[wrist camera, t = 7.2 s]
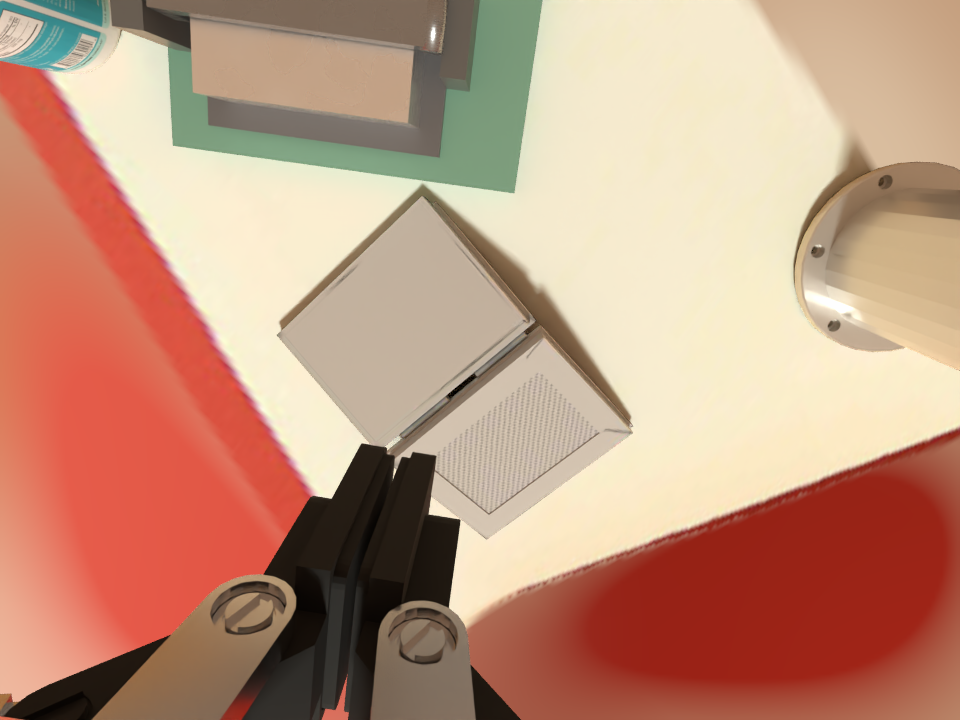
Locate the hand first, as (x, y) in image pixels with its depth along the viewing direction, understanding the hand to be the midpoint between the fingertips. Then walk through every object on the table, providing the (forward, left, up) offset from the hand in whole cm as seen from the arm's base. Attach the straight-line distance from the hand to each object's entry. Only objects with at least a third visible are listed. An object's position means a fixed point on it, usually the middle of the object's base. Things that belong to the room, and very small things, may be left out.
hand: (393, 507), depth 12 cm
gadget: (-1, +8, -29) cm, 30 cm away
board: (+8, -14, -28) cm, 33 cm away
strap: (+9, -14, -23) cm, 29 cm away
